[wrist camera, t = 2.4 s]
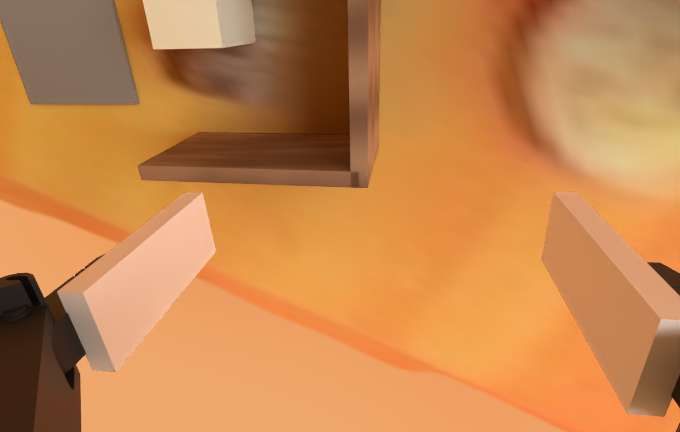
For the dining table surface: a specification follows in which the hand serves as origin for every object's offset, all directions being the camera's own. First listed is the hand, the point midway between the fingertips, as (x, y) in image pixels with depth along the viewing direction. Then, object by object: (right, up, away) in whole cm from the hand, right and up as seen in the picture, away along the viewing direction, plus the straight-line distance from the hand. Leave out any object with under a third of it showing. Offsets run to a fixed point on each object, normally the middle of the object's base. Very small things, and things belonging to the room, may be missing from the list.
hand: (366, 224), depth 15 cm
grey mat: (-27, +19, +21) cm, 39 cm away
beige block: (-11, +18, +19) cm, 29 cm away
